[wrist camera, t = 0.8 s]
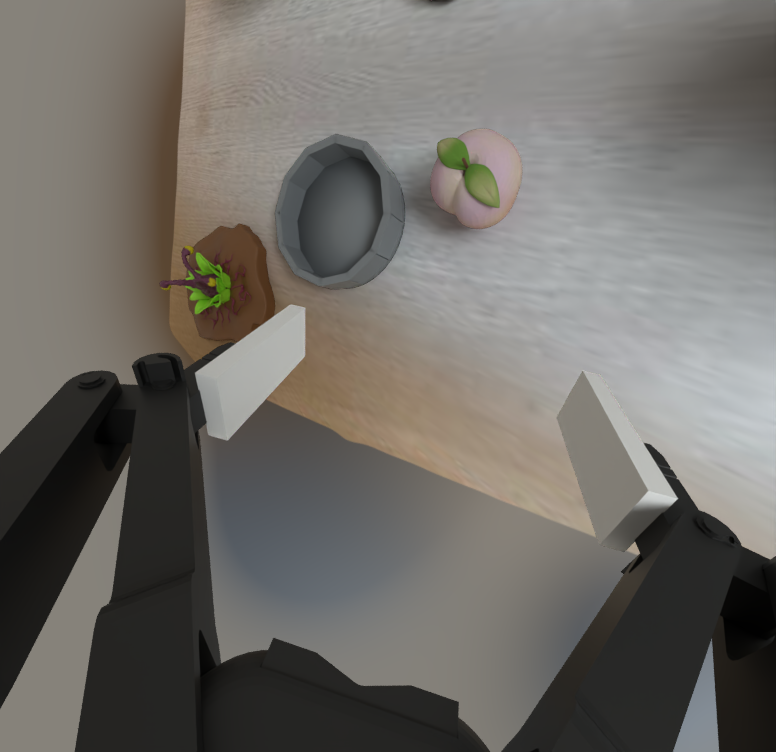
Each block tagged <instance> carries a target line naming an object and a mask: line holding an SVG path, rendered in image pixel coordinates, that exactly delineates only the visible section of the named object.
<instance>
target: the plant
mask: <svg viewBox="0 0 776 752" xmlns="http://www.w3.org/2000/svg"><path fill="white" fill-rule="evenodd" d="M187 255H190V257H189V262H188V261H187V258H186V256H187ZM182 259H183V263H184V264H185V267H186V268H187V276H186V279H184V280H173V281H171V280H170V281H161V282H160V287H161V288H162V289H164V290H169V289H170V288H171V285H179V286H181V285H184V286H185V287H186V288H187V294H188V303H189V309H190V311H191V312H192V314H193V316H194V319H195V323H196V326H197V329H198V332H199V336H200V337H203V338H205V339H214V340H235V341H236V342H239V341H240V340H242V339H243V338H244V337H246V336H247V335H248V334H250V333H251V332H253V331H254V330H255V329H257V328H258V327H260V326H261V325H262V324H264V323H265V322H267V321H268V320H269V319H271V318H272V317H273V315H274V310H275V300H274V295H273V292H272V289H271V286H270V282H269V278H268V271H267V264H266V249H265V248H264V246H263V245H262V242H261V240H260V239H259V237H258V236H257V235H255V234H254V233H253V232H252V230H251V229H250V227H248V226H245V225H242V224H238V225H237V226H236V227H235V228H233V229H230V228H227V227H224V226H220V227H218V228H217V229H216V230H214V231H213V232H212V233H211V234H209V235H208V236H206V237H205V238H203V239H202V240H201V241H199V242H198V243H197V244H196V245H195V246H194V247H191V246H185V247H184V248H183V250H182Z"/></svg>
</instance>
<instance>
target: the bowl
mask: <svg viewBox="0 0 776 752" xmlns="http://www.w3.org/2000/svg"><path fill="white" fill-rule="evenodd" d="M306 148H307V149H306ZM306 148H305V150H304V151H303V153H302V154H301V155H300V157H299V158H298V159H297V161H296V162H295V163H294V165H293V166H292V167H291V169H290V170H289V171H288V173H287V174H286V175H285V177H284V180H283V184H282V187H281V191H280V195H279V199H278V203H277V206H276V210H275V219H276V229H277V238H278V247H279V249H280V251H281V253H282V254H283V256H284V258H285V259H286V261H287V263H288V264H289V266H290V268H291V269H292V271H293V273H294V274H295V275H297V276H299V277H301V278H303V279H306V280H308V281H310V282H312V283H314V284H316V285H318V286H320V287H325V288H329V289H334V290H337V289H349V288H355V287H358V286H361V285H363V284H366V283H368V282H369V281H371V280H372V279H374V278H375V277H376V276H377V275H379V274H380V273H381V272H382V271H383V270H384V269H385V268H386V266H387V265H388V264H389V262H390V261H391V259H392V258H393V256H394V254H395V252H396V250H397V248H398V246H399V243H400V240H401V237H402V233H403V228H404V221H405V204H404V197H403V193H402V190H401V187H400V183H399V182H398V180H397V178H396V177H395V175H394V173H393V172H392V171H391V170H390V168H389V167H388V166H387V165H386V163H385V162H384V160H383V159H382V158H381V156H380V155H379V154H378V153H377V152H376V151H375V150H374V149H373V148H372V147H371V146H370V145H369V144H368V143H367V142H366V141H362V140H358V139H354V138H351V137H347V136H343V135H339V134H335V135H332V136H330V137H328V138H326V139H324V140H322V141H319V142H317V143H315V144H313V145H311V146H309V147H306Z"/></svg>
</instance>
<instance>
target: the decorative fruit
mask: <svg viewBox="0 0 776 752" xmlns="http://www.w3.org/2000/svg"><path fill="white" fill-rule="evenodd" d="M437 153H438V159H437V161H436V163H435V165H434V167H433V171H432V174H431V180H430V188H431V193H432V197H433V199H434V201H435V202H436V203H437V205H438V206H439V207H440V208H442V209H443V210H445V211H446V212H448V213H450V214H454V215H456V216H457V218H458V220H459V221H460V222H461V223H462V224H463V225H465V226H467V227H469V228H474V229H483V228H488V227H491V226H493V225H495V224H497V223H498V222H500V221H501V220H502V219H503V218H504V217H505V216H506V215H507V214H508V212H509V211H510V209H511V207H512V205H513V203H514V201H515V199H516V197H517V194H518V191H519V188H520V184H521V179H522V162H521V158H520V155H519V153H518V151H517V149H516V147H515V146H514V144H513V143H512V142H511V141H510V140H509V139H507V138H505V137H504V136H502V135H501V134H499V133H497V132H495V131H493V130H490V129H475V130H471V131H468V132H466V133H464V134H462V135H460V136H459V137H458V138H446V139H443V140H441V141H440V142H438V145H437Z"/></svg>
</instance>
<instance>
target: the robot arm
mask: <svg viewBox="0 0 776 752" xmlns="http://www.w3.org/2000/svg"><path fill="white" fill-rule="evenodd" d="M304 357H305V307H300V306H296V305H291V304H290V305H289V306H288V307H286V308H285V309H283V310H282V311H281V312H279V313H278V314H276V315H275V316H274V317H272V318H271V319H269V320H268V321H267V322H265V323H264V324H262V325H261V326H260V327H258V328H257V329H255V330H254V331H253V332H251V333H250V334H248V335H247V336H246V337H244V338H243V339H242V340H240V341H239V342H237V343H236V344H235V343H231V342H230V343H227V344H225V345H222V346H219V347H217V348H216V349H214V350H213V351H211V352H210V353H209V354H207V355H205V356H204V357H202V359H199V360H198V361H197V362H195V363H194V364H192V365H191V366H189V367H188V368H186V369H185V370H184V369H183V365H182V361H181V359H180V357H179V356H177V355H175V354H171V353H156V354H150V355H147V356H144V357H141V358H139V359H138V360H136V361H135V362H134V364H133V365H132V368H133V371H134V374H135V377H136V379H137V383H138V385H125V384H123V385H122V384H120V383H119V381H118V378H117V376H116V375H115V374H114V373H112V372H109V371H91V372H87V373H83V374H80V375H78V376H76V377H73V378H72V379H70V380H69V381H68V382H66V384H64V385H63V387H62V388H61V389H60V390H59V391H58V392H57V393H56V394H55V395H54V396H53V398H52V399H51V400H50V401H49V402H48V403H47V404H46V405H45V406H44V407H43V408H42V409H41V410H40V411H39V412H38V414H37V415H36V416H35V417H34V418H33V419H32V420H31V421H30V422H29V423H28V424H27V425H26V426H25V428H24V429H23V430H22V431H21V432H20V433H19V434H18V435H17V436H16V437H15V439H13V440H12V442H11V443H10V444H9V445H8V446H7V447H6V448H5V449H4V450H3V451H2V452H1V454H0V708H1V706H2V705H3V703H4V701H5V699H6V697H7V696H8V694H9V692H10V690H11V688H12V687H13V685H14V683H15V681H16V679H17V677H18V675H19V673H20V671H21V669H22V667H23V665H24V663H25V661H26V659H27V657H28V655H29V653H30V651H31V649H32V647H33V645H34V643H35V641H36V639H37V637H38V635H39V634H40V632H41V630H42V628H43V626H44V624H45V622H46V620H47V618H48V616H49V614H50V612H51V610H52V608H53V606H54V604H55V602H56V600H57V598H58V596H59V594H60V592H61V590H62V588H63V586H64V584H65V582H66V581H67V579H68V577H69V575H70V573H71V571H72V568H73V567H74V565H75V563H76V561H77V559H78V557H79V555H80V553H81V551H82V549H83V547H84V545H85V543H86V541H87V539H88V537H89V535H90V533H91V531H92V529H93V527H94V525H95V524H96V522H97V520H98V518H99V516H100V514H101V512H102V510H103V508H104V505H105V504H106V502H107V500H108V498H109V496H110V494H111V492H112V490H113V488H114V486H115V484H116V482H117V480H118V478H119V476H120V474H121V472H122V470H123V468H124V466H125V464H126V463H127V461H128V459H129V457H130V462H129V470H128V477H127V486H126V492H125V500H124V508H123V516H122V523H121V531H120V538H119V547H118V553H117V561H116V568H115V576H114V584H113V592H112V597H111V600H110V602H109V604H107V605H106V606H104V607H102V608H101V610H100V612H99V614H98V616H97V619H96V623H95V628H94V633H93V639H92V646H91V652H90V658H89V665H88V671H87V677H86V684H85V690H84V697H83V703H82V709H81V716H80V722H79V728H78V735H77V741H76V748H75V752H490V751H489V749H488V748H487V747H486V745H485V744H484V743H483V742H482V740H481V739H480V738H479V737H478V735H477V734H476V733H475V732H474V731H473V730H472V729H471V728H470V727H469V726H468V725H467V724H466V723H465V722H464V721H462V720H461V719H459V718H458V706H459V702H457V701H454V700H451V699H448V698H446V697H442V696H440V695H437V694H434V693H431V692H428V691H425V690H422V689H419V688H416V687H414V686H361V685H358V684H356V683H355V682H353V681H352V680H351V679H350V678H348V677H347V676H346V675H344V674H343V673H342V672H340V671H339V670H338V669H337V668H335V667H334V666H333V665H332V664H330V663H329V662H328V661H327V660H325V659H324V658H323V657H321V656H320V655H319V654H318V653H316V652H313V651H310V650H307V649H304V648H301V647H298V646H295V645H293V644H289V643H287V642H284V641H281V640H278V639H275V638H273V640H272V642H271V645H270V647H269V649H268V650H260V651H254V652H248V653H245V654H242V655H239V656H236V657H234V658H232V659H229V660H227V661H225V662H223V663H221V660H220V651H219V644H218V638H217V633H216V627H215V617H214V605H213V593H212V581H211V569H210V556H209V544H208V531H207V520H206V508H205V494H204V482H203V471H202V458H201V446H200V436H199V432H198V430H199V429H200V428H201V427H202V426H203V425H205V424H206V426H207V430H208V435H210V436H213V437H217V438H220V439H224V440H228V439H229V438H230V437H231V436H232V435H233V434H234V433H235V432H236V431H237V430H238V429H239V427H240V426H241V425H242V424H243V423H244V422H245V421H246V420H247V419H248V418H249V416H251V414H252V413H253V412H254V411H255V410H256V409H257V408H258V407H259V406H260V405H261V404H262V402H263V401H264V400H265V399H266V398H267V397H268V396H269V395H270V394H271V393H272V392H273V391H274V389H275V388H276V387H277V386H278V385H279V384H280V383H281V382H282V381H283V380H284V379H285V378H286V376H287V375H288V374H289V373H290V372H291V371H292V370H293V369H294V368H295V367H296V366H297V365H298V363H299V362H300V361H301V360H302V359H303V358H304ZM557 420H558V423H559V426H560V429H561V432H562V435H563V438H564V441H565V444H566V447H567V450H568V453H569V456H570V459H571V462H572V465H573V468H574V471H575V474H576V477H577V480H578V483H579V486H580V489H581V492H582V495H583V498H584V501H585V504H586V507H587V510H588V513H589V516H590V519H591V522H592V525H593V528H594V531H595V534H596V537H597V540H598V542H599V545H601V546H604V547H608V548H612V549H615V550H619V551H622V552H625V551H626V550H627V549H628V548H629V547H630V546H631V545H632V544H633V543H634V542H636V544H637V547H638V549H639V551H640V554H639V555H638V556H637V557H636V558H635V559H634V560H633V561H632V562H631V563H629V565H627V567H625V568H624V569H623V570H622V571H621V572H622V573H623V574H624V575H623V577H622V578H621V580H620V581H619V582H618V584H617V585H616V587H615V588H614V590H613V592H612V593H611V594H610V596H609V598H608V599H607V600H606V602H605V603H604V605H603V606H602V608H601V610H600V611H599V612H598V614H597V616H596V617H595V618H594V620H593V621H592V623H591V624H590V626H589V627H588V629H587V631H586V632H585V634H584V635H583V636H582V638H581V639H580V641H579V643H578V644H577V645H576V647H575V649H574V650H573V651H572V653H571V655H570V656H569V657H568V659H567V660H566V662H565V664H564V665H563V667H562V668H561V669H560V671H559V672H558V674H557V675H556V677H555V678H554V680H553V681H552V683H551V684H550V686H549V687H548V689H547V691H546V692H545V694H544V695H543V697H542V698H541V700H540V701H539V703H538V704H537V705H536V707H535V708H534V710H533V712H532V713H531V715H530V716H529V718H528V719H527V721H526V722H525V724H524V725H523V726H522V728H521V729H520V731H519V732H518V733H517V734H516V736H515V737H514V738H513V739H512V740H511V741H510V742H509V743H508V744H507V745H506V747H505V748H504V749H503V750H502V752H673V749H674V747H675V744H676V741H677V737H678V735H679V732H680V729H681V726H682V723H683V720H684V717H685V714H686V712H687V708H688V706H689V703H690V700H691V697H692V694H693V691H694V688H695V685H696V682H697V679H698V676H699V674H700V671H701V668H702V665H703V662H704V659H705V656H706V653H707V650H708V647H709V644H710V641H711V639H712V645H713V659H714V660H713V661H714V677H715V692H716V708H717V724H718V740H719V752H776V556H775V557H774V558H772V559H771V560H770V559H768V558H765V557H763V556H761V555H759V554H757V553H755V552H753V551H751V550H749V549H747V548H745V547H742V546H741V543H740V541H739V540H738V538H737V536H736V535H735V534H734V533H733V532H732V531H731V530H730V529H729V528H728V527H727V526H726V525H725V524H723V523H722V522H721V521H719V520H718V519H716V518H715V517H713V516H711V515H709V514H707V513H705V512H702V511H699V510H698V508H697V507H696V505H695V504H694V502H693V501H692V499H691V498H690V496H689V495H688V493H687V492H686V490H685V489H684V487H683V486H682V484H681V483H680V481H679V480H678V479H676V478H677V477H676V475H675V474H674V472H673V470H671V469H670V468H671V467H670V466H669V464H668V463H667V461H666V460H665V458H664V457H663V456H662V455H661V454H660V453H659V452H658V451H657V450H656V449H655V448H654V447H652V446H651V445H650V444H647V443H643V442H642V440H641V439H640V437H639V435H638V434H637V432H636V431H635V429H634V427H633V426H632V424H631V423H630V421H629V419H628V418H627V416H626V415H625V413H624V411H623V410H622V408H621V407H620V405H619V403H618V402H617V400H616V398H615V397H614V395H613V394H612V392H611V390H610V389H609V387H608V386H607V384H606V382H605V381H604V379H603V378H602V376H601V375H600V374H595V373H591V372H587V371H582V373H581V375H580V376H579V378H578V380H577V382H576V384H575V385H574V387H573V389H572V391H571V393H570V394H569V396H568V398H567V400H566V402H565V403H564V405H563V407H562V409H561V411H560V412H559V414H558V416H557Z"/></svg>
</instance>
